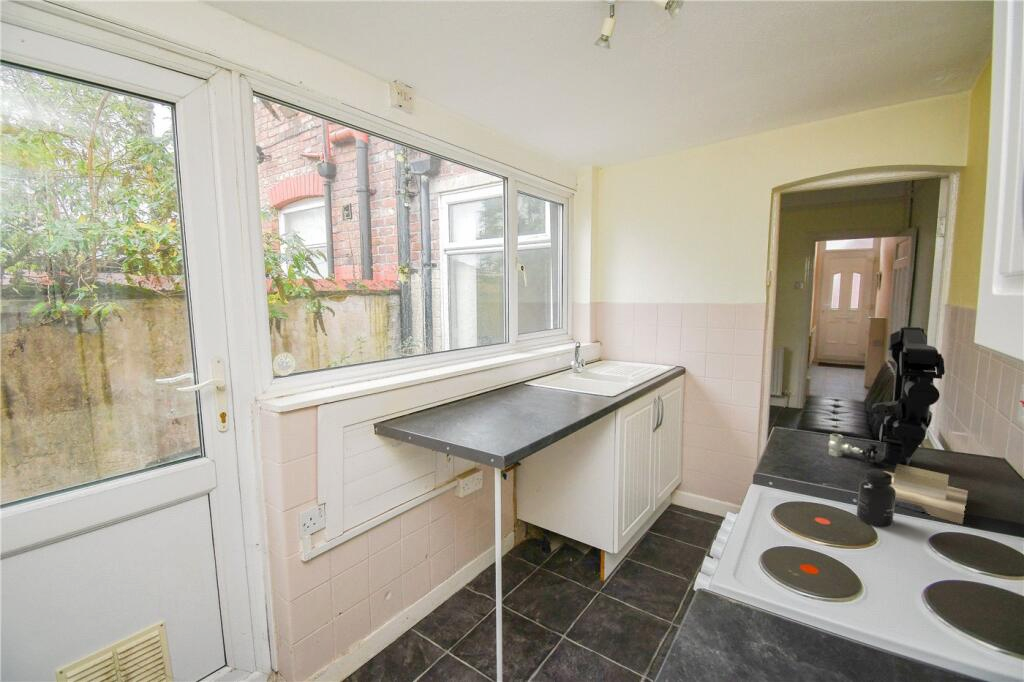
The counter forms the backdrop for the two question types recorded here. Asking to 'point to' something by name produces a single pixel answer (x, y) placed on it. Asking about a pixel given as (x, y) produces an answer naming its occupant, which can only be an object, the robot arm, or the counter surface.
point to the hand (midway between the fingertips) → (909, 451)
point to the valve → (849, 448)
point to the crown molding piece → (937, 502)
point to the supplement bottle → (876, 499)
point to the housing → (921, 481)
